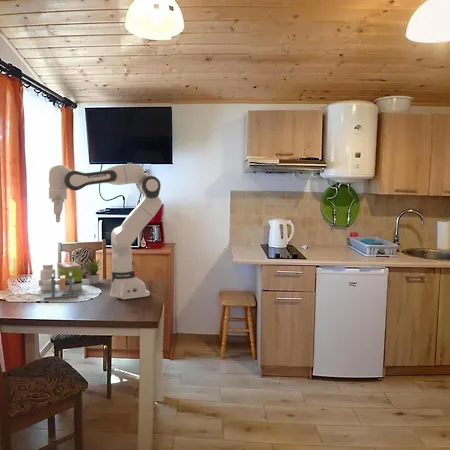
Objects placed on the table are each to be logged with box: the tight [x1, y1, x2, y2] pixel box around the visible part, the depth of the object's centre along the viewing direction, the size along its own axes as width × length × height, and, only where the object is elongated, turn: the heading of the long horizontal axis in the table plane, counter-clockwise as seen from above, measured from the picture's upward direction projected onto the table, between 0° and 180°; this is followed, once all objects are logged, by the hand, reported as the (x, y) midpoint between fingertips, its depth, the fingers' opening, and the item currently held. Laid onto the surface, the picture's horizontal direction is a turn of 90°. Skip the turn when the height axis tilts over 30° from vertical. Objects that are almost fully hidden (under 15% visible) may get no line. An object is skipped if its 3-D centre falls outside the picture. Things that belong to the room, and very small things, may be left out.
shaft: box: [38, 278, 74, 287], centre depth 221 cm, size 18×3×3 cm, turn 111°
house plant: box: [81, 258, 104, 285], centre depth 252 cm, size 14×14×16 cm
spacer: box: [59, 276, 66, 292], centre depth 222 cm, size 3×7×7 cm, turn 21°
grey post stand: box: [43, 273, 78, 300], centre depth 222 cm, size 17×10×12 cm, turn 111°
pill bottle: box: [39, 263, 56, 291], centre depth 236 cm, size 8×8×15 cm
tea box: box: [56, 261, 83, 292], centre depth 240 cm, size 15×10×15 cm
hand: (58, 221), depth 214 cm, fingers open, 8 cm apart
